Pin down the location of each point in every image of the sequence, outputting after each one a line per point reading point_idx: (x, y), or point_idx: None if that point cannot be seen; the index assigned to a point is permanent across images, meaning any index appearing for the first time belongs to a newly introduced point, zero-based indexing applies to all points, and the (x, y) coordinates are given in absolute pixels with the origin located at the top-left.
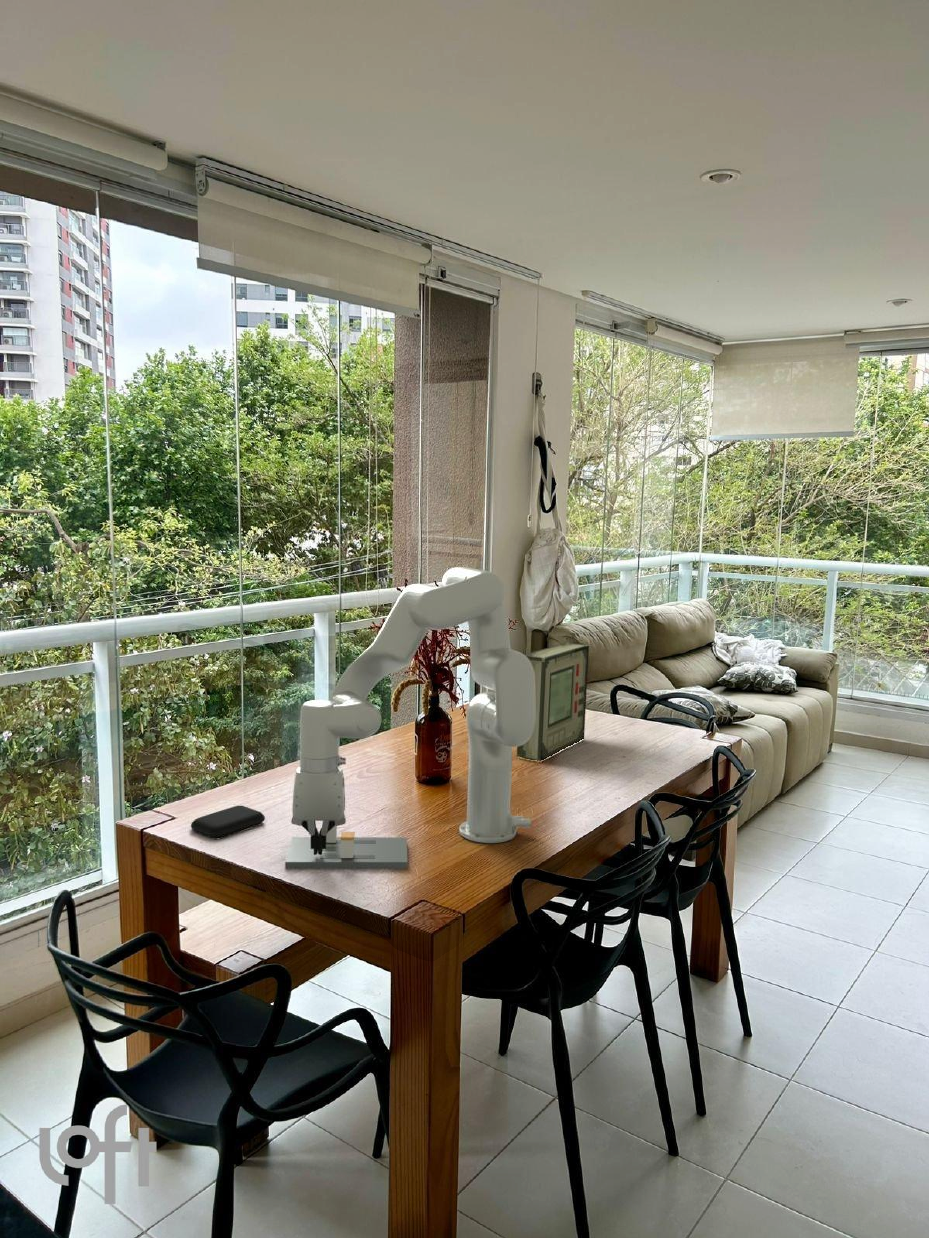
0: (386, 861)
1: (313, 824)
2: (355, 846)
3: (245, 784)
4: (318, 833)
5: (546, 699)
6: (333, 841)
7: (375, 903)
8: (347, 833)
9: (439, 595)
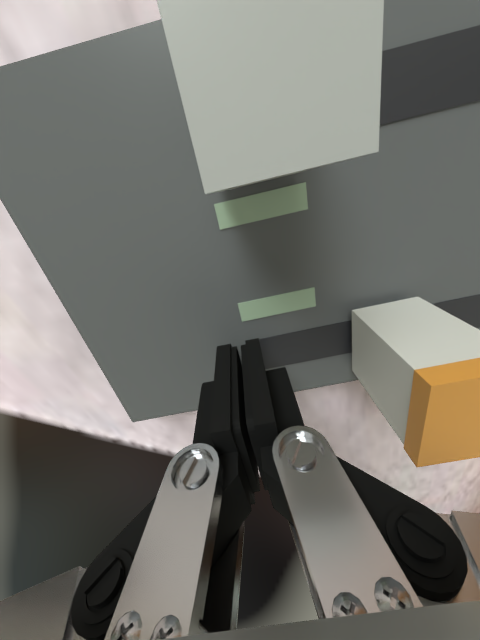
0: None
1: (233, 625)
2: (427, 179)
3: None
4: (245, 437)
5: None
6: (286, 175)
7: (436, 496)
8: (476, 407)
9: None
